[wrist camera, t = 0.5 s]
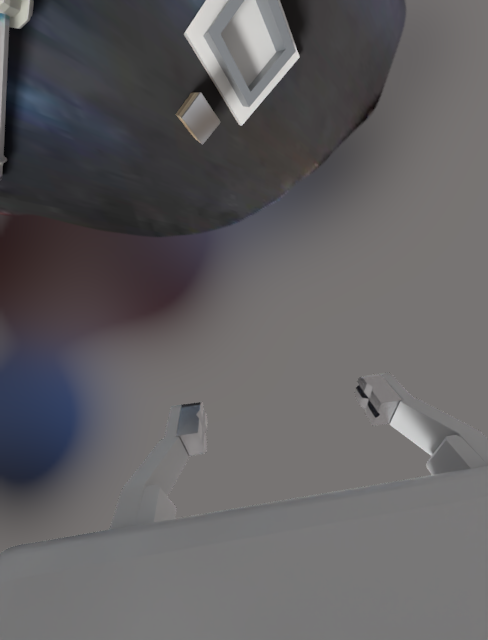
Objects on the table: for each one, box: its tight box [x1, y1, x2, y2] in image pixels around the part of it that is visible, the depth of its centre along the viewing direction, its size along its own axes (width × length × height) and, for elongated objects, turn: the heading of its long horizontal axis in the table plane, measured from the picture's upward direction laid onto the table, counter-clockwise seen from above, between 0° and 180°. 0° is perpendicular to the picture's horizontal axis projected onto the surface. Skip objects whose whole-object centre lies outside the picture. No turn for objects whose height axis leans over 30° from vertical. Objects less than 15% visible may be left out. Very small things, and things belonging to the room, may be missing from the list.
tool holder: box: [184, 0, 299, 126], centre depth 33 cm, size 13×13×5 cm
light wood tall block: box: [176, 92, 220, 145], centre depth 35 cm, size 4×4×9 cm
